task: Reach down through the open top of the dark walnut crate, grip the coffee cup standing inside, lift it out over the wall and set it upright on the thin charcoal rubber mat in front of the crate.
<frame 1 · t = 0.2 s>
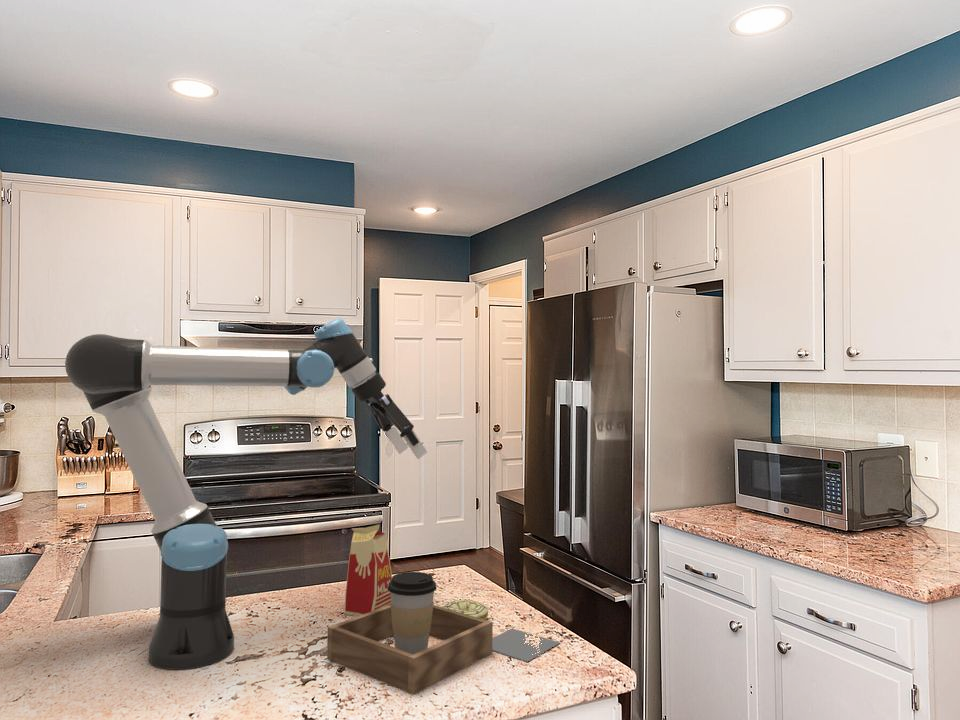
hand: (412, 453, 161), 36 cm above the worktop, tool tilted 35°, fingers open, 13 cm apart
coffee cup: (410, 657, 129), resting in crate
decorated donut: (463, 623, 148), on the worktop
crate: (410, 656, 129), on the worktop
mat: (519, 644, 135), on the worktop
milk carton: (367, 611, 154), on the worktop
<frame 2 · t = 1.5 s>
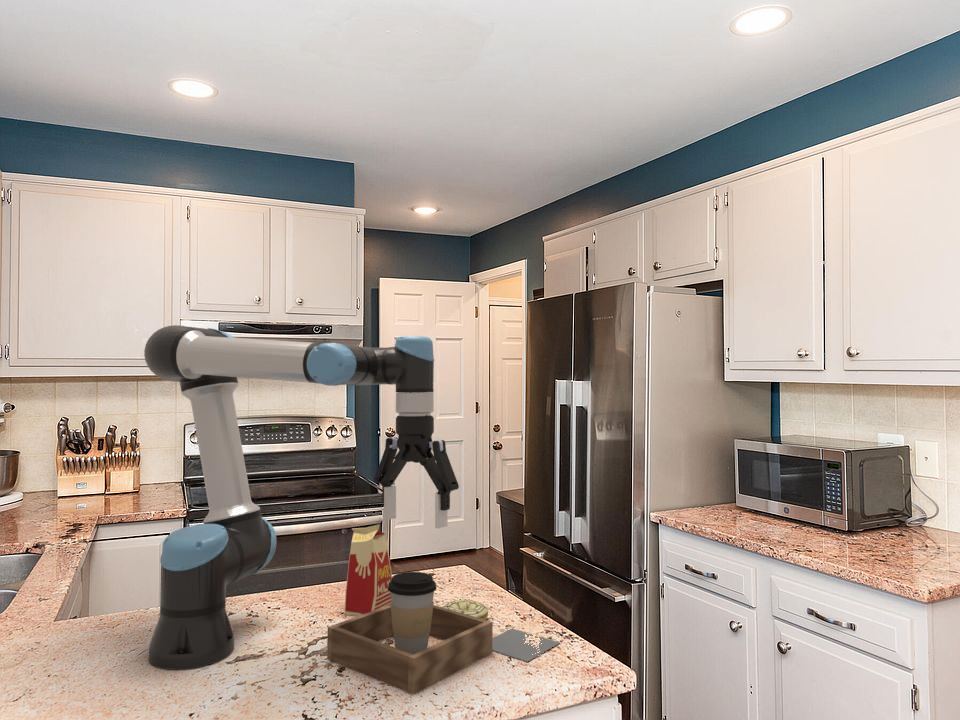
hand: (415, 523, 132), 25 cm above the worktop, tool pointing down, fingers open, 13 cm apart
nothing on the worktop moved.
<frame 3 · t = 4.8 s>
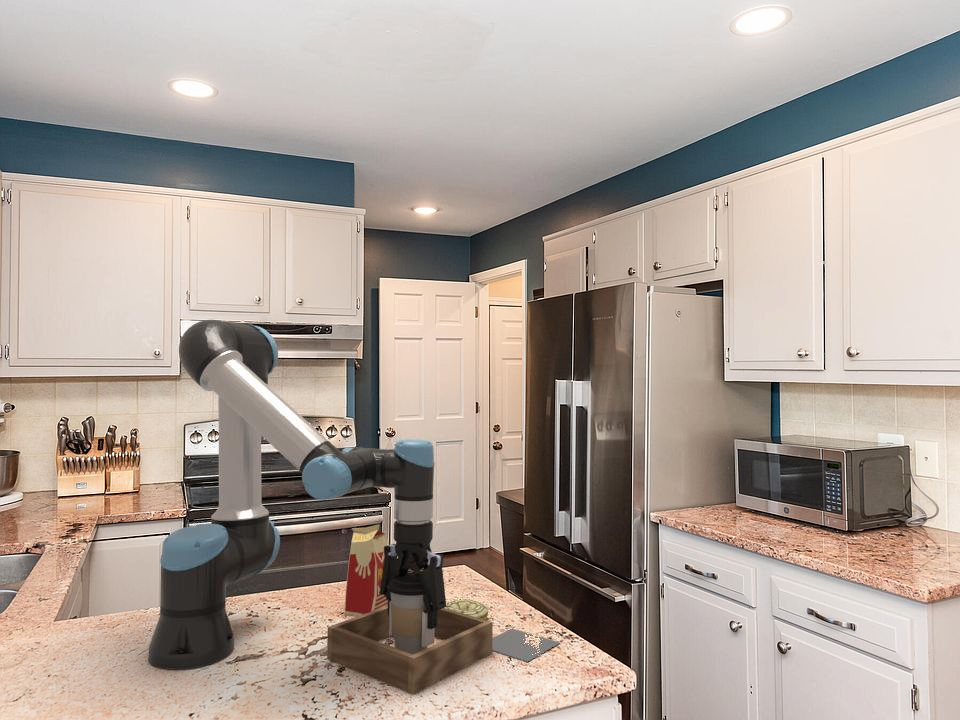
hand: (411, 638, 129), 3 cm above the worktop, tool pointing down, fingers closed on coffee cup, 8 cm apart
coffee cup: (410, 657, 129), resting in crate, touching gripper
everything else where it was.
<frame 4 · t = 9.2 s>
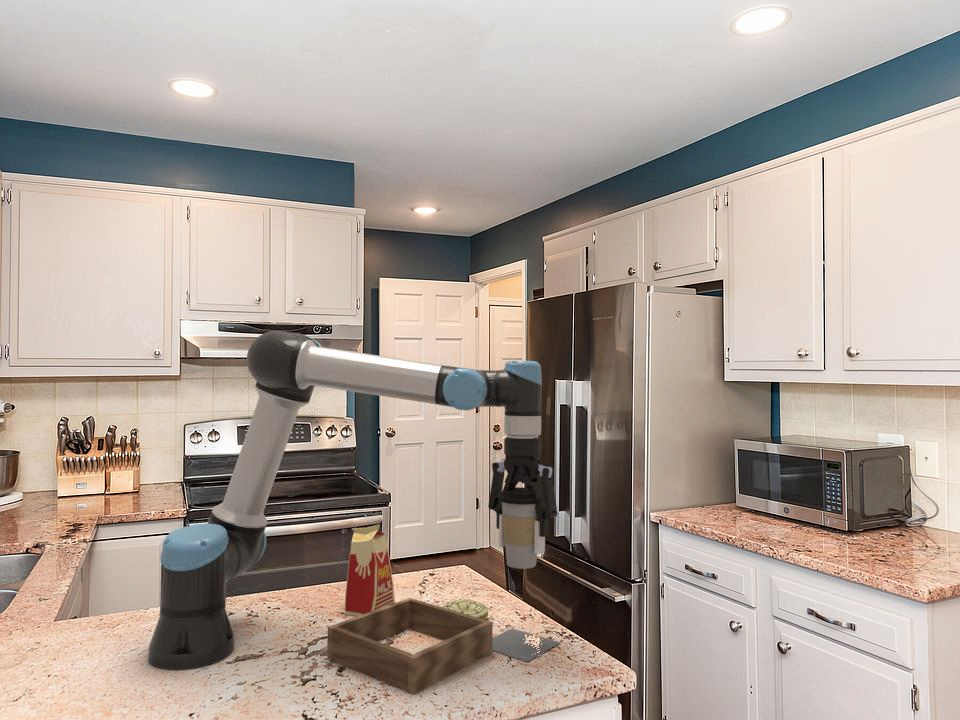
hand: (521, 548, 136), 19 cm above the worktop, tool pointing down, fingers closed on coffee cup, 8 cm apart
coffee cup: (521, 565, 136), point 16 cm above the worktop, touching gripper
everything else where it was.
when the fingers open (3 cm above the worktop, at t = 13.6 s): coffee cup stays where it is, resting on mat.
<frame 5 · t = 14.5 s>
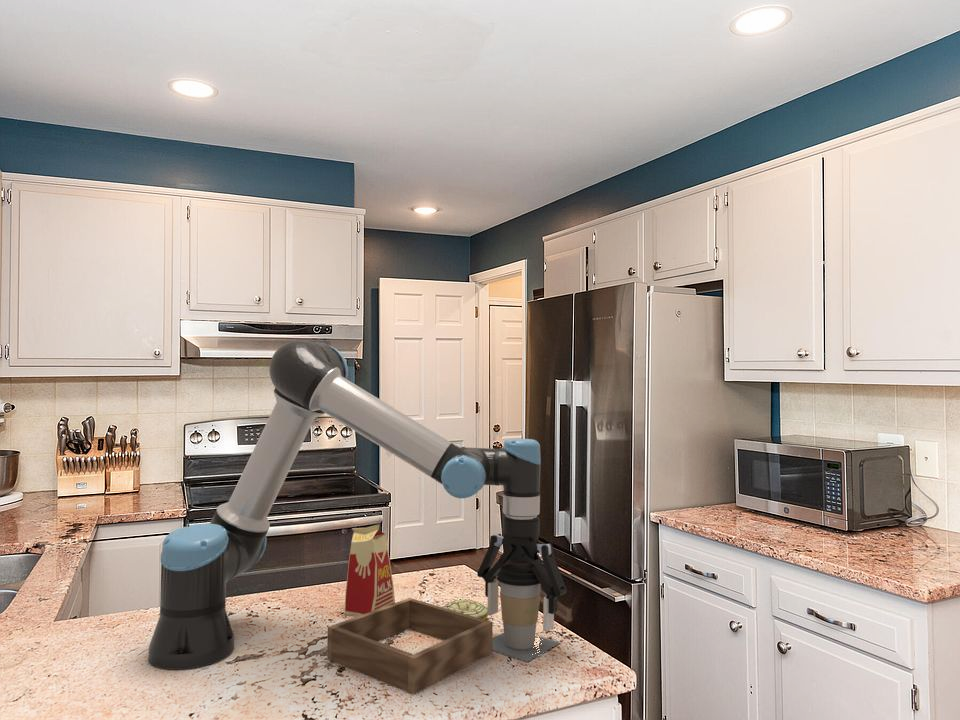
hand: (519, 621, 135), 5 cm above the worktop, tool pointing down, fingers open, 13 cm apart
coffee cup: (519, 644, 135), resting on mat
everything else where it was.
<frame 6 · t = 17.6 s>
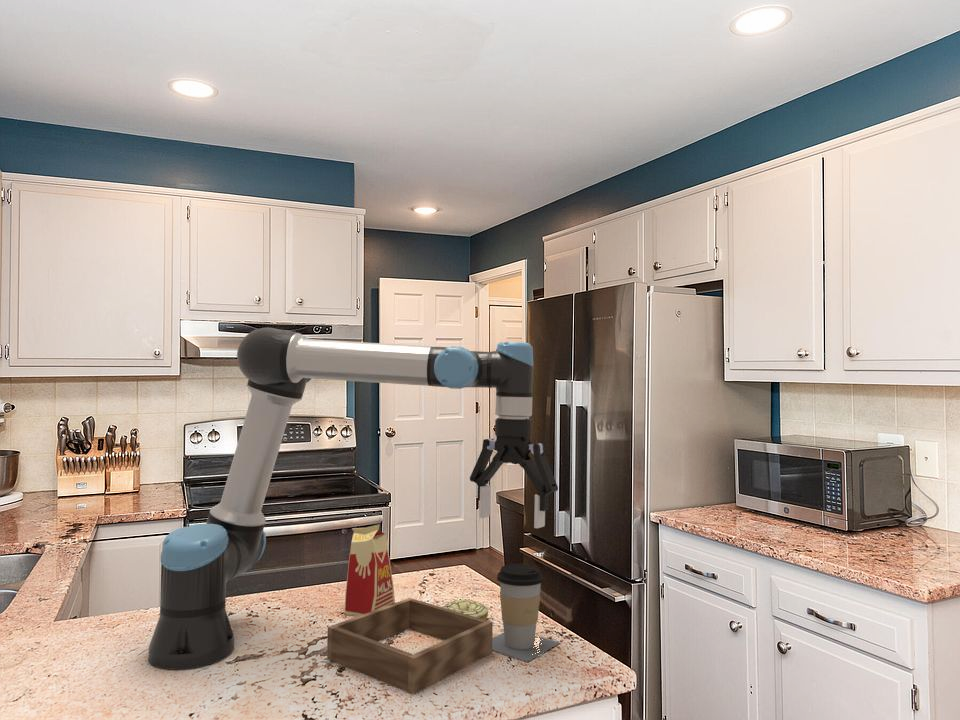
hand: (511, 522, 136), 25 cm above the worktop, tool pointing down, fingers open, 13 cm apart
nothing on the worktop moved.
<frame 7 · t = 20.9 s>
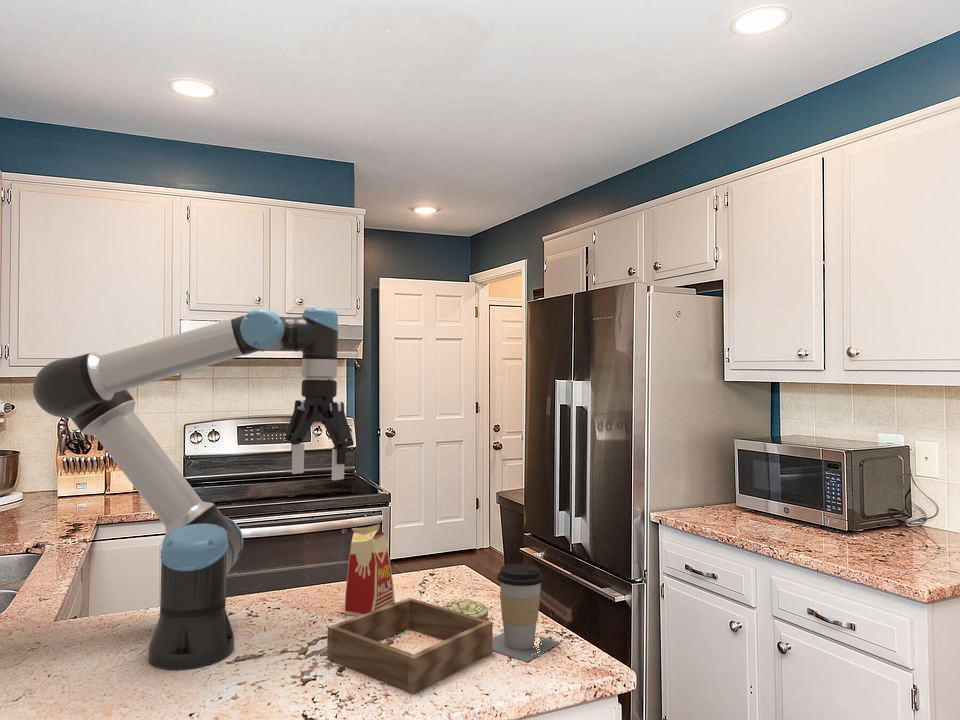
hand: (317, 476, 146), 32 cm above the worktop, tool pointing down, fingers open, 13 cm apart
nothing on the worktop moved.
at the end: coffee cup inside the target area on the mat (0.1 cm from its centre), point 0.0 cm above the mat's base; coffee cup tilted 0°; the gripper is holding nothing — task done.
